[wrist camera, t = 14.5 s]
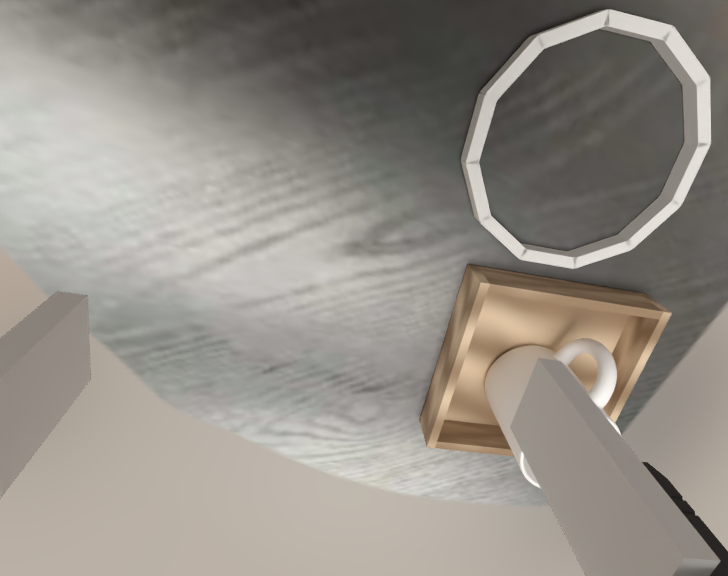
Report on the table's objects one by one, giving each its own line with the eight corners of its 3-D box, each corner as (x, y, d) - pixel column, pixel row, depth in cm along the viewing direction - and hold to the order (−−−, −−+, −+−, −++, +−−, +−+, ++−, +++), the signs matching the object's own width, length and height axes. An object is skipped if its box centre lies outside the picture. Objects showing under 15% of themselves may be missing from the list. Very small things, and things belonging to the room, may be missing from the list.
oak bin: (467, 263, 42) (480, 282, 39) (644, 293, 45) (671, 313, 41) (419, 419, 49) (426, 447, 46) (574, 436, 52) (593, 464, 48)
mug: (544, 297, 44) (603, 359, 34) (607, 336, 46) (679, 405, 37) (465, 390, 47) (499, 470, 38) (527, 422, 50) (573, 504, 40)
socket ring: (507, -12, 34) (516, -16, 32) (740, 48, 36) (757, 47, 35) (438, 240, 41) (442, 246, 40) (634, 273, 44) (645, 280, 42)
